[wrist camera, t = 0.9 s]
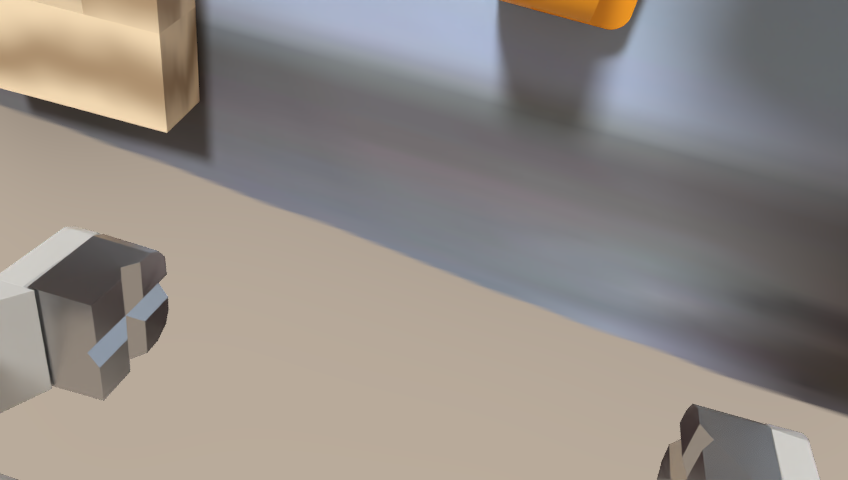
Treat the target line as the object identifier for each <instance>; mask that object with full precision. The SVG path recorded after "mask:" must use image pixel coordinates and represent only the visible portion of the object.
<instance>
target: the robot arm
mask: <svg viewBox="0 0 848 480" xmlns="http://www.w3.org/2000/svg"><path fill="white" fill-rule="evenodd" d="M166 275H167V272H166V263H165V257H164V256H163V255H162V254H161V253H160V252H159V251H156V250H153V249H149V248H147V247H143V246H140V245H137V244H134V243H131V242H127V241H124V240H121V239H117V238H114V237H111V236H108V235H104V234H99V233H97V232H93V231H90V230H87V229H84V228H80V227H77V226H70V227H64V228H63V229H61V230H60V231H59V232H57V233H56V234H55V235H53V236H52V237H50V238H49V239H48V240H46V241H45V242H43V243H42V244H40V245H39V246H38V247H36V248H35V249H34V250H32V251H31V252H29V253H28V254H26V255H25V256H24V257H22V258H21V259H19V260H18V261H17V262H15V263H14V264H12V265H11V266H10V267H8V268H7V269H5V270H4V271H3V272H1V273H0V413H2V412H3V411H6V410H8V409H10V408H12V407H14V406H16V405H19V404H21V403H23V402H25V401H27V400H29V399H31V398H33V397H35V396H37V395H40V394H42V393H44V392H46V391H48V390H50V389H52V386H55V387H58V388H62V389H65V390H69V391H72V392H76V393H79V394H83V395H86V396H90V397H93V398H96V399H100V400H105V399H106V397H107V396H108V395H109V394H110V393H111V392H112V391H113V390H114V389H115V388H116V387H117V385H118V384H119V383H120V382H121V381H122V380H123V379H124V378H125V377H126V376H127V374H128V373H129V372H130V359H132V358H135V357H137V356H140V355H143V354H145V353H148V351H149V350H150V349H151V348H152V347H153V345H154V344H155V343H156V342H157V341H158V339H159V337H160V335H161V333H162V331H163V328H164V327H165V325H166V320H167V314H168V296H167V295H166V294H165V292H164V291H163V289H162V288H161V286H160V285H159V282H160V281H161V280H162V279H163V278H164V277H165V276H166ZM680 432H681V439H680V440H678V441H676V442H674V443H672V444H669V446H668V448H667V451H666V453H665V455H664V458H663V460H662V462H661V466H660V470H659V474H658V478H657V480H820V477H819V474H818V470H817V467H816V463H815V460H814V456H813V453H812V450H811V446H810V443H809V439H808V438H807V437H806V436H805V435H804V434H803V433H800V432H797V431H792V430H789V429H785V428H781V427H777V426H774V425H770V424H762V423H759V422H756V421H752V420H748V419H745V418H741V417H738V416H734V415H730V414H727V413H724V412H720V411H716V410H713V409H709V408H705V407H702V406H698V405H695V404H692V405H691V406H690V407H689V408H688V409H687V411H686V412H685V414H684V416H683V418H682V420H681V422H680ZM0 480H18V479H15V478H12V477H9V476H6V475H3V474H0Z"/></svg>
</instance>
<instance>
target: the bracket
mask: <svg viewBox="0 0 848 480" xmlns="http://www.w3.org/2000/svg"><path fill="white" fill-rule="evenodd" d="M500 1H504V2H507V3H511V4H515V5H518V6H522V7H526V8H530V9H533V10H537V11H541V12H544V13H548V14H552V15H556V16H559V17H563V18H567V19H570V20H574V21H578V22H581V23H585V24H589V25H593V26H596V27H600V28H604V29H608V30H613V29H618V28H620V27H622V26H624V25H625V24H626V23H627V22H628V21H629V20H630V18H631V16H632V13H633V11H634V8H635V6H636V3H637V0H500Z"/></svg>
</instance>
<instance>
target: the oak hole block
mask: <svg viewBox="0 0 848 480" xmlns="http://www.w3.org/2000/svg"><path fill="white" fill-rule="evenodd" d="M0 88H2V89H6V90H9V91H13V92H17V93H20V94H24V95H28V96H32V97H35V98H39V99H43V100H47V101H50V102H54V103H58V104H61V105H65V106H69V107H73V108H76V109H80V110H84V111H87V112H91V113H95V114H99V115H102V116H106V117H110V118H114V119H117V120H121V121H125V122H128V123H132V124H136V125H140V126H143V127H147V128H151V129H154V130H158V131H162V132H166V133H168V132H169V131H170V130H171V129H172V128H173V127H174V126H175V125H176V124H177V123H178V122H179V121H180V120H181V119H182V118H183V117H184V116H185V115H186V114H187V113H188V112H189V111H190V110H191V109H192V108H193V107H194V106H195V105H196V104H197V103H198V102H199V101H200V99H199V77H198V54H197V31H196V9H195V0H0Z"/></svg>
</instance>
